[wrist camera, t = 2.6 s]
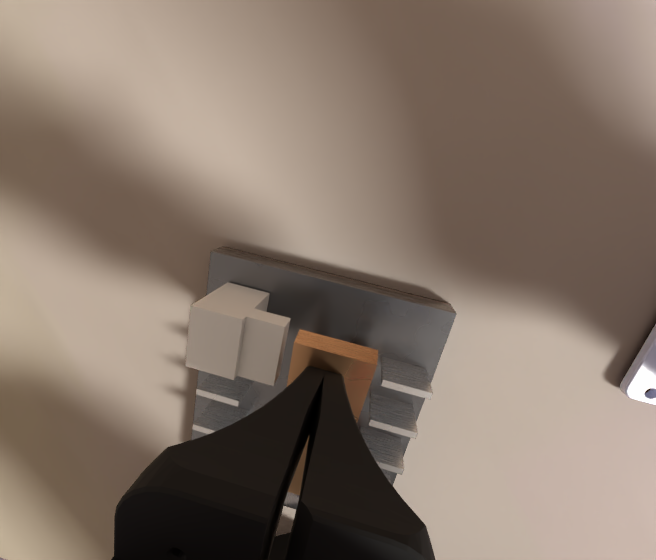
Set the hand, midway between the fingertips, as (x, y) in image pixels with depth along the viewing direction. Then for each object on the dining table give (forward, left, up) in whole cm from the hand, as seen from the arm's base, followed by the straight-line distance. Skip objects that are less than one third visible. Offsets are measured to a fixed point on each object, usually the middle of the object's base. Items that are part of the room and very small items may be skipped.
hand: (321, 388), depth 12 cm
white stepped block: (+4, -1, -3) cm, 5 cm away
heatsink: (+1, +3, -4) cm, 5 cm away
